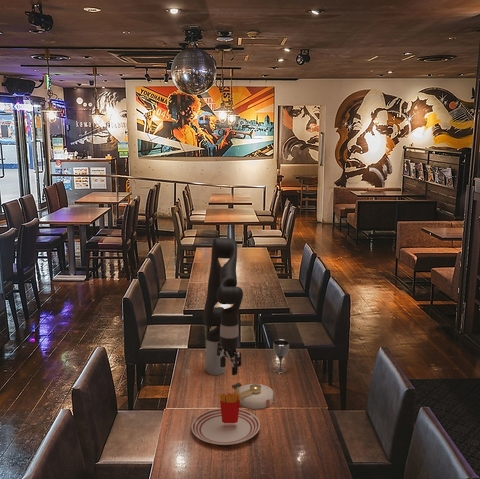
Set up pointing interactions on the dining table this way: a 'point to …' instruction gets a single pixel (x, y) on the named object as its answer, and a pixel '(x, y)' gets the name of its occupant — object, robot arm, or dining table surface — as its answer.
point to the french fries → (229, 407)
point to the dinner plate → (225, 427)
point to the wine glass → (280, 352)
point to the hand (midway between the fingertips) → (228, 370)
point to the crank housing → (257, 397)
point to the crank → (253, 390)
